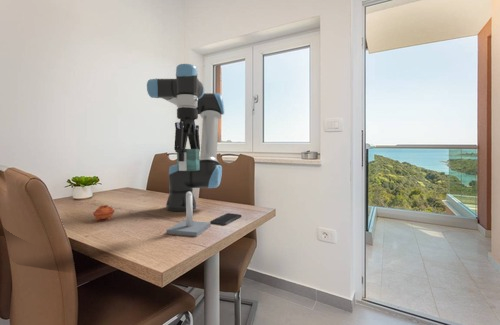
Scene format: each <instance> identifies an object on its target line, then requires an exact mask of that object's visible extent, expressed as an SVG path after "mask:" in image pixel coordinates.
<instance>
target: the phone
mask: <svg viewBox="0 0 500 325" xmlns="http://www.w3.org/2000/svg"><path fill="white" fill-rule="evenodd" d="M241 218H242V214H238V213H231V212H228V213H224V214H222V215H220V216H218V217H216V218H213V219H211V220H210V221H209V222H211V224H212V225H216V226H227V225H229V224H231V223H233V222H235V221H237V220H238V219H241Z"/></svg>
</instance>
